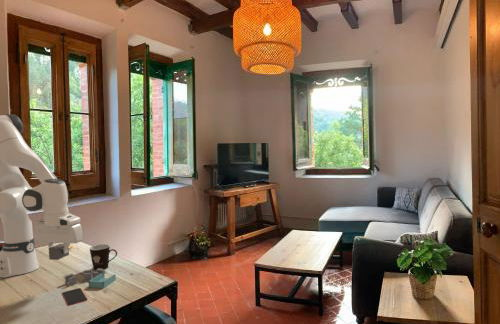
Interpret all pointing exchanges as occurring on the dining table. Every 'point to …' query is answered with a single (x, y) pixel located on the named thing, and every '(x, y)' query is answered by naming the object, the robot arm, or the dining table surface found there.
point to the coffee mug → (101, 256)
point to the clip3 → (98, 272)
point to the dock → (101, 281)
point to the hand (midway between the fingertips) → (59, 252)
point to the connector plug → (57, 252)
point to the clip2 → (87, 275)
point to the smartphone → (74, 296)
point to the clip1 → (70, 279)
